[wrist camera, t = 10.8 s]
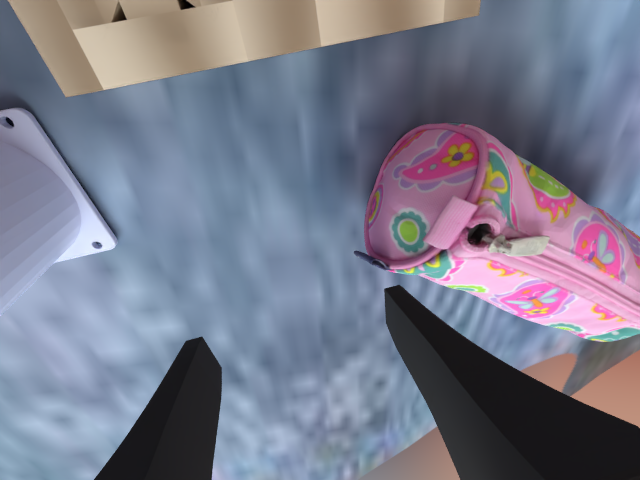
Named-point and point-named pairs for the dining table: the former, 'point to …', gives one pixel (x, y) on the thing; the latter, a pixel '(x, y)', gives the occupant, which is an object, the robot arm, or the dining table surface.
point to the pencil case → (502, 233)
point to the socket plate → (203, 33)
